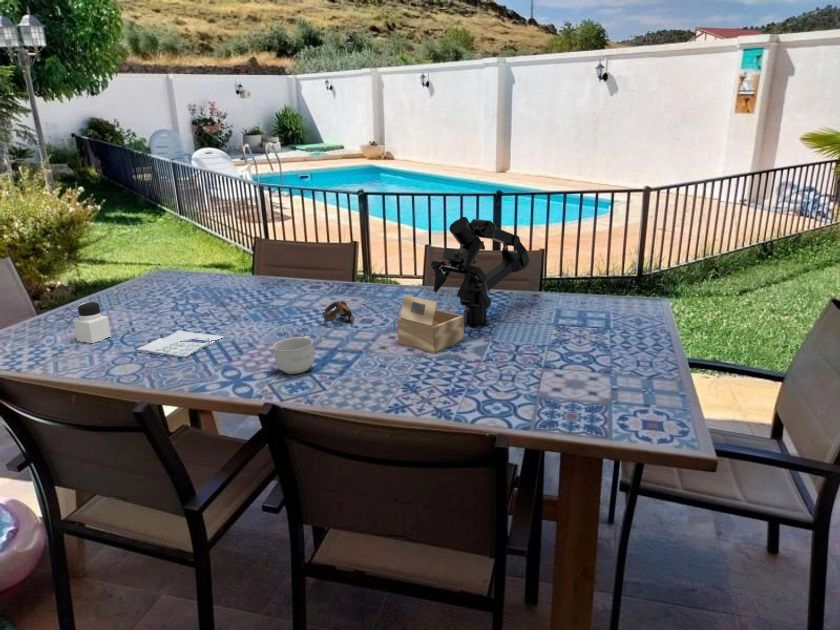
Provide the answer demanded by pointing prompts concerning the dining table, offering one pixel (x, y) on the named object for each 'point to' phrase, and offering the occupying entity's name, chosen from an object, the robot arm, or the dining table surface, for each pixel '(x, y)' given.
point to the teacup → (294, 354)
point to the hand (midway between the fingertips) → (446, 294)
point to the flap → (418, 310)
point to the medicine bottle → (91, 323)
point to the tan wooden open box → (432, 332)
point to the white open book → (179, 344)
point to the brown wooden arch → (338, 311)
